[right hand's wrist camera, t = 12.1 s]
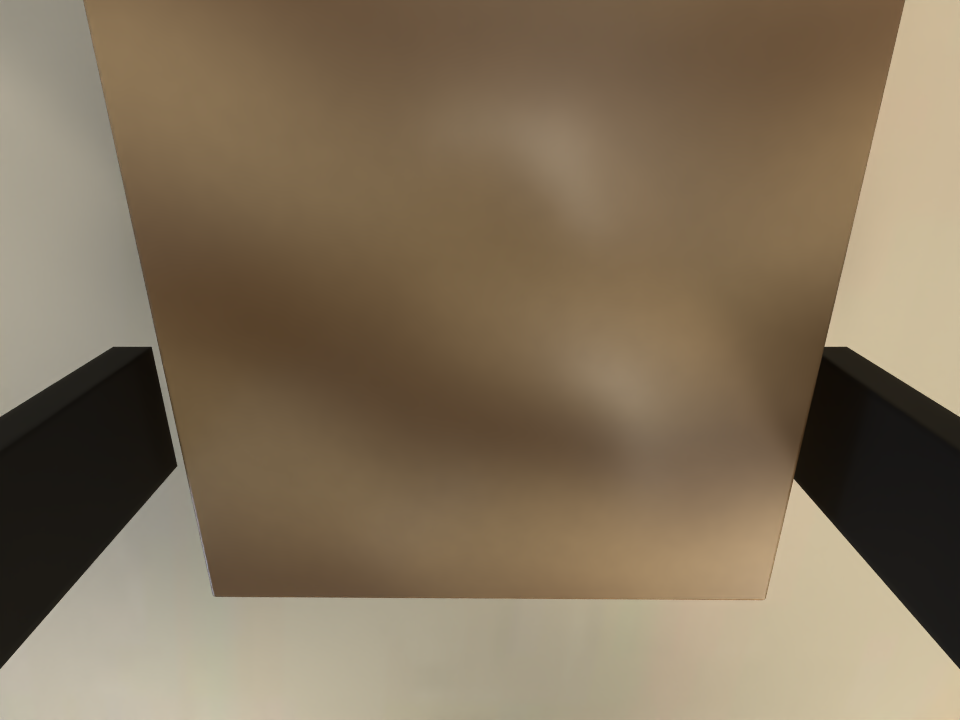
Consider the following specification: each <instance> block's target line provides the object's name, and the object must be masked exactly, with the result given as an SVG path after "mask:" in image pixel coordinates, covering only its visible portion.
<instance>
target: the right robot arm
mask: <svg viewBox="0 0 960 720" xmlns="http://www.w3.org/2000/svg"><path fill="white" fill-rule="evenodd" d="M176 467H177V462H176V458H175V453H174V448H173V444H172V439H171V435H170V430H169V425H168V421H167V416H166V411H165V407H164V402H163V398H162V393H161V388H160V384H159V379H158V374H157V370H156V365H155V361H154V356H153V351H152V347H112V348H111V349H109V350H107V351H106V352H104V353H103V354H101V355H99V356H98V357H96V358H95V359H93V360H91V361H90V362H88V363H86V364H85V365H83V366H82V367H80V368H78V369H77V370H75V371H74V372H72V373H70V374H69V375H67V376H66V377H64V378H62V379H61V380H59V381H57V382H56V383H54V384H53V385H51V386H49V387H48V388H46V389H45V390H43V391H41V392H40V393H38V394H37V395H35V396H33V397H32V398H30V399H29V400H27V401H25V402H24V403H22V404H20V405H19V406H17V407H16V408H14V409H12V410H11V411H9V412H8V413H6V414H4V415H3V416H1V417H0V669H1V668H2V666H3V665H4V664H5V663H6V662H7V661H8V660H9V658H10V657H11V656H12V655H13V654H14V653H15V651H16V650H17V649H18V648H19V647H20V646H21V645H22V643H23V642H24V641H25V640H26V639H27V638H28V637H29V635H30V634H31V633H32V632H33V631H34V630H35V629H36V627H37V626H38V625H39V624H40V623H41V622H42V621H43V619H44V618H45V617H46V616H47V615H48V614H49V613H50V611H51V610H52V609H53V608H54V607H55V606H56V604H57V603H58V602H59V601H60V600H61V599H62V598H63V596H64V595H65V594H66V593H67V592H68V591H69V590H70V588H71V587H72V586H73V585H74V584H75V583H76V582H77V580H78V579H79V578H80V577H81V576H82V575H83V574H84V572H85V571H86V570H87V569H88V568H89V567H90V566H91V564H92V563H93V562H94V561H95V560H96V559H97V557H98V556H99V555H100V554H101V553H102V552H103V551H104V549H105V548H106V547H107V546H108V545H109V544H110V543H111V541H112V540H113V539H114V538H115V537H116V536H117V535H118V533H119V532H120V531H121V530H122V529H123V528H124V527H125V525H126V524H127V523H128V522H129V521H130V520H131V518H132V517H133V516H134V515H135V514H136V513H137V512H138V510H139V509H140V508H141V507H142V506H143V505H144V504H145V502H146V501H147V500H148V499H149V498H150V497H151V496H152V494H153V493H154V492H155V491H156V490H157V489H158V488H159V486H160V485H161V484H162V483H163V482H164V481H165V480H166V478H167V477H168V476H169V475H170V474H171V473H172V471H173V470H174V469H175V468H176ZM794 480H795V481H796V482H797V483H798V484H799V485H800V486H801V488H802V489H803V490H804V491H805V492H806V493H807V494H808V496H809V497H810V498H811V499H812V500H813V501H814V502H815V504H816V505H817V506H818V507H819V508H820V509H821V510H822V512H823V513H824V514H825V515H826V516H827V517H828V518H829V520H830V521H831V522H832V523H833V524H834V525H835V527H836V528H837V529H838V530H839V531H840V532H841V533H842V535H843V536H844V537H845V538H846V539H847V540H848V541H849V543H850V544H851V545H852V546H853V547H854V548H855V549H856V551H857V552H858V553H859V554H860V555H861V556H862V557H863V559H864V560H865V561H866V562H867V563H868V564H869V566H870V567H871V568H872V569H873V570H874V571H875V572H876V574H877V575H878V576H879V577H880V578H881V579H882V580H883V582H884V583H885V584H886V585H887V586H888V587H889V588H890V590H891V591H892V592H893V593H894V594H895V595H896V596H897V598H898V599H899V600H900V601H901V602H902V603H903V604H904V606H905V607H906V608H907V609H908V610H909V611H910V613H911V614H912V615H913V616H914V617H915V618H916V619H917V621H918V622H919V623H920V624H921V625H922V626H923V627H924V629H925V630H926V631H927V632H928V633H929V634H930V635H931V637H932V638H933V639H934V640H935V641H936V642H937V643H938V645H939V646H940V647H941V648H942V649H943V650H944V651H945V653H946V654H947V655H948V656H949V657H950V658H951V660H952V661H953V662H954V663H955V664H956V665H957V666H958V668H959V669H960V417H959V416H957V415H956V414H954V413H952V412H951V411H949V410H948V409H946V408H944V407H943V406H941V405H940V404H938V403H936V402H935V401H933V400H931V399H930V398H928V397H927V396H925V395H923V394H922V393H920V392H919V391H917V390H915V389H914V388H912V387H911V386H909V385H907V384H906V383H904V382H903V381H901V380H899V379H898V378H896V377H894V376H893V375H891V374H890V373H888V372H886V371H885V370H883V369H882V368H880V367H878V366H877V365H875V364H874V363H872V362H870V361H869V360H867V359H865V358H864V357H862V356H861V355H859V354H857V353H856V352H854V351H853V350H851V349H849V348H848V347H824V350H823V354H822V358H821V363H820V367H819V371H818V376H817V380H816V384H815V388H814V393H813V397H812V401H811V406H810V410H809V414H808V418H807V423H806V427H805V431H804V436H803V440H802V444H801V449H800V453H799V457H798V461H797V466H796V470H795V474H794Z"/></svg>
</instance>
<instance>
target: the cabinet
mask: <svg viewBox="0 0 960 720" xmlns="http://www.w3.org/2000/svg"><path fill="white" fill-rule="evenodd" d="M83 1H84V6H85V10H86V15H87V20H88V24H89V29H90V33H91V38H92V42H93V47H94V52H95V56H96V61H97V65H98V70H99V75H100V79H101V84H102V88H103V93H104V98H105V102H106V107H107V111H108V116H109V120H110V125H111V130H112V134H113V139H114V143H115V148H116V153H117V157H118V162H119V166H120V171H121V176H122V180H123V185H124V189H125V194H126V198H127V203H128V208H129V212H130V217H131V221H132V226H133V231H134V235H135V240H136V244H137V249H138V254H139V258H140V263H141V267H142V272H143V276H144V281H145V286H146V290H147V295H148V299H149V304H150V309H151V313H152V318H153V322H154V327H155V332H156V336H157V341H158V345H159V350H160V354H161V359H162V364H163V368H164V373H165V377H166V382H167V387H168V391H169V396H170V400H171V405H172V410H173V414H174V419H175V423H176V428H177V432H178V437H179V442H180V446H181V451H182V455H183V460H184V465H185V469H186V474H187V478H188V483H189V488H190V492H191V497H192V501H193V506H194V511H195V515H196V520H197V524H198V529H199V533H200V538H201V543H202V547H203V552H204V556H205V561H206V566H207V570H208V575H209V579H210V584H211V589H212V593H213V596H215V597H345V598H509V599H673V600H764V599H765V598H766V594H767V590H768V586H769V581H770V577H771V573H772V569H773V564H774V560H775V556H776V551H777V547H778V543H779V539H780V534H781V530H782V526H783V521H784V517H785V513H786V509H787V504H788V500H789V496H790V491H791V487H792V483H793V479H794V474H795V470H796V466H797V461H798V457H799V453H800V449H801V444H802V440H803V436H804V431H805V427H806V423H807V418H808V414H809V410H810V406H811V401H812V397H813V393H814V388H815V384H816V380H817V376H818V371H819V367H820V363H821V358H822V354H823V350H824V346H825V341H826V337H827V333H828V328H829V324H830V320H831V316H832V311H833V307H834V303H835V298H836V294H837V290H838V286H839V281H840V277H841V273H842V268H843V264H844V260H845V256H846V251H847V247H848V243H849V238H850V234H851V230H852V226H853V221H854V217H855V213H856V208H857V204H858V200H859V196H860V191H861V187H862V183H863V178H864V174H865V170H866V166H867V161H868V157H869V153H870V148H871V144H872V140H873V136H874V131H875V127H876V123H877V118H878V114H879V110H880V106H881V101H882V97H883V93H884V88H885V84H886V80H887V76H888V71H889V67H890V63H891V58H892V54H893V50H894V46H895V41H896V37H897V33H898V28H899V24H900V20H901V16H902V11H903V7H904V3H905V0H83Z"/></svg>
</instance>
